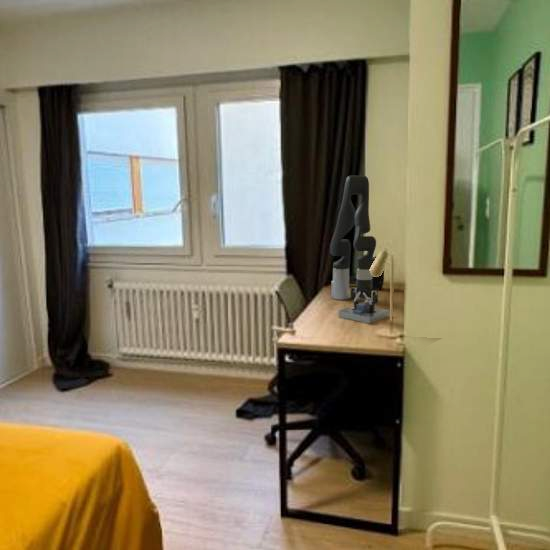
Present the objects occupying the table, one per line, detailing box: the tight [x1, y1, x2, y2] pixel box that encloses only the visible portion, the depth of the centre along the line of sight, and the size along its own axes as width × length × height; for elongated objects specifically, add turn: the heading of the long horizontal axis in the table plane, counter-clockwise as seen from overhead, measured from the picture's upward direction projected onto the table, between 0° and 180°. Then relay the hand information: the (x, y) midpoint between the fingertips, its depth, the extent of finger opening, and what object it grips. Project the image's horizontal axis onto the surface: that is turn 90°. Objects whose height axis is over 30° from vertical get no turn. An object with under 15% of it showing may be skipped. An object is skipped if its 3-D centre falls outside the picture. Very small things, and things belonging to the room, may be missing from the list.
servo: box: [353, 300, 376, 314], centre depth 243 cm, size 4×13×7 cm, turn 136°
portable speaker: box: [372, 256, 385, 291], centre depth 302 cm, size 9×9×20 cm
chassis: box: [337, 305, 390, 324], centre depth 244 cm, size 18×17×3 cm
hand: (363, 310), depth 243 cm, fingers open, 8 cm apart
